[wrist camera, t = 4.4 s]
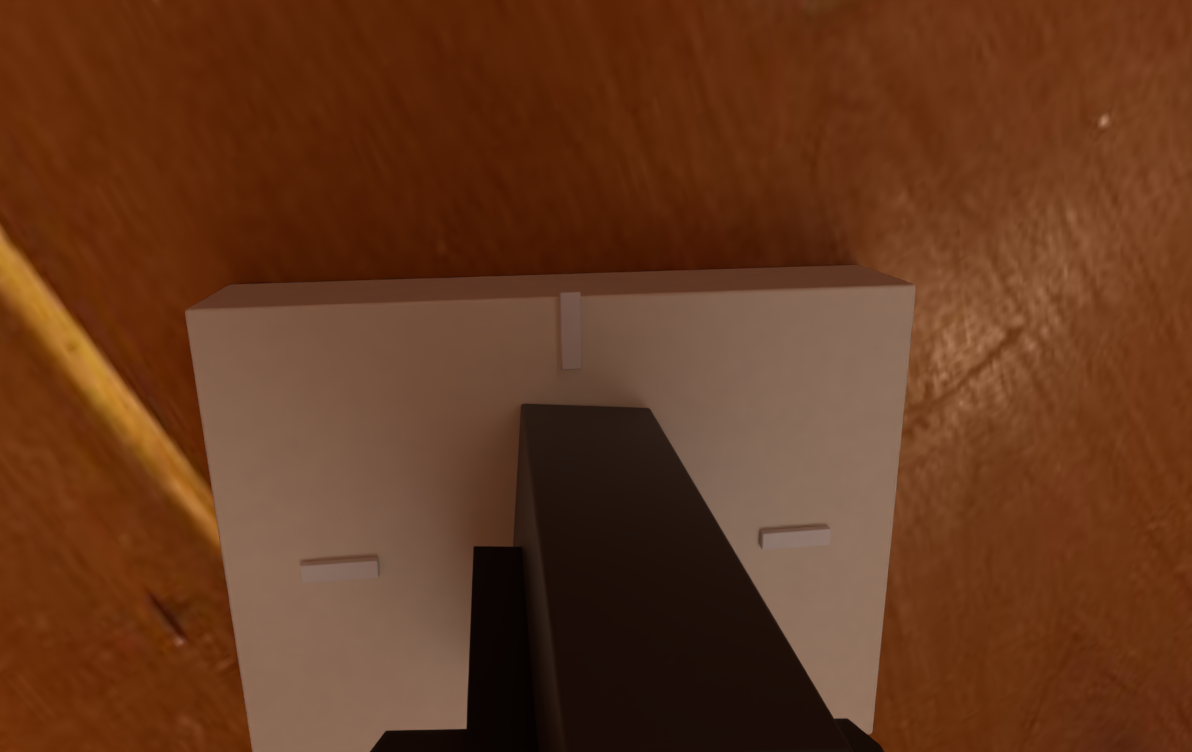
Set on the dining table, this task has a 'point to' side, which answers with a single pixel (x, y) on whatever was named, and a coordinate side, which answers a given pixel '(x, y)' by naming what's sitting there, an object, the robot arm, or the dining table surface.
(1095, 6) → the dining table surface
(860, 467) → the panel
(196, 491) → the dining table surface
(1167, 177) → the dining table surface
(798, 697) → the dark grey rectangular block
